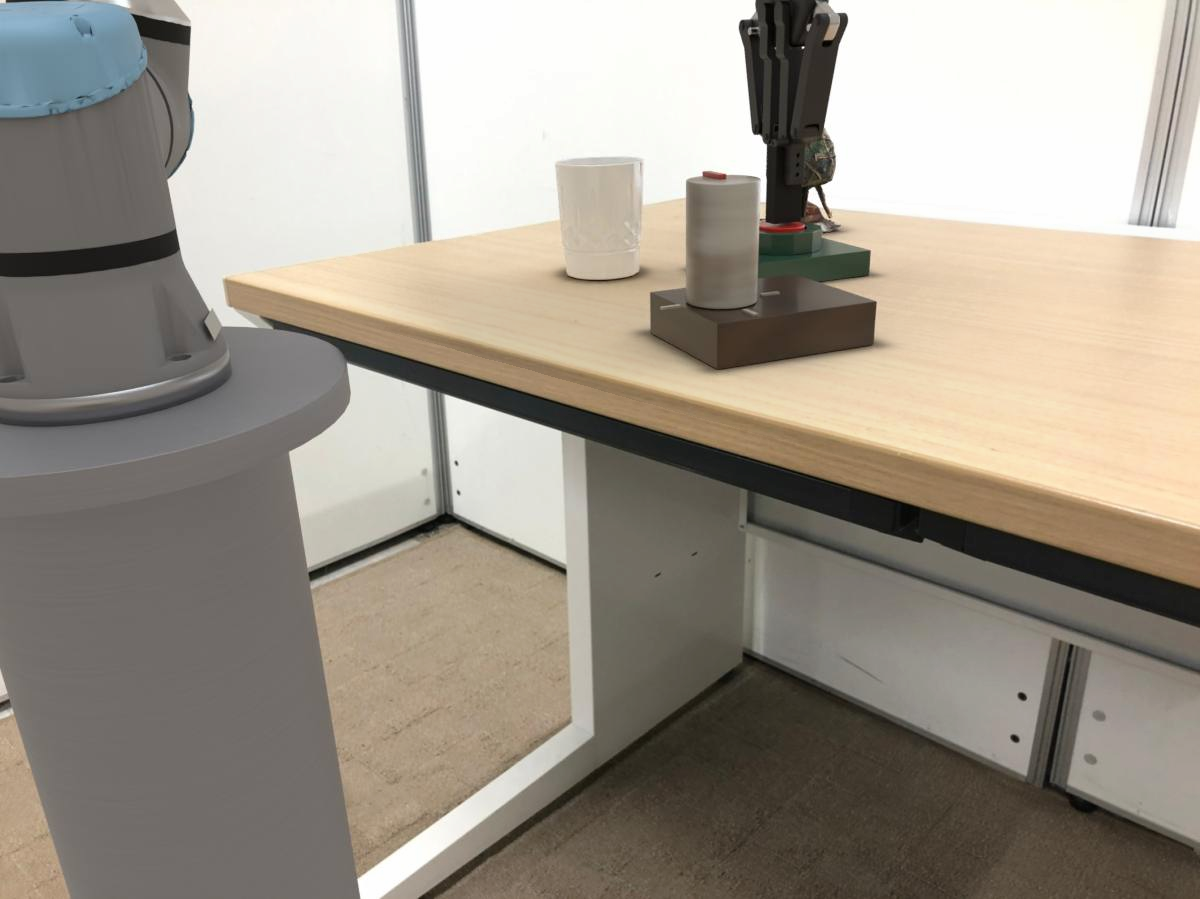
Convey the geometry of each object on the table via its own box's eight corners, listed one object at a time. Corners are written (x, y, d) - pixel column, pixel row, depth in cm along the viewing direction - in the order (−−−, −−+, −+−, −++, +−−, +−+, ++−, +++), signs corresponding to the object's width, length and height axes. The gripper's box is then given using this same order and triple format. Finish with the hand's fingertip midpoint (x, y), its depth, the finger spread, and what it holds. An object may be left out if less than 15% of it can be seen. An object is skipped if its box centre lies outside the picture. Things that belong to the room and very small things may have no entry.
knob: (770, 303, 65) (775, 175, 62) (706, 312, 64) (708, 180, 61) (734, 289, 70) (737, 168, 66) (673, 297, 68) (673, 173, 65)
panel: (696, 373, 62) (696, 324, 61) (631, 335, 71) (630, 292, 69) (873, 344, 67) (877, 298, 65) (792, 312, 75) (794, 271, 74)
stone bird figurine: (778, 240, 104) (786, 33, 96) (753, 223, 114) (758, 35, 106) (854, 236, 104) (867, 31, 97) (821, 219, 115) (831, 33, 107)
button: (773, 250, 85) (774, 229, 85) (750, 243, 89) (750, 223, 88) (812, 245, 87) (813, 225, 86) (788, 239, 90) (788, 219, 90)
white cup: (628, 261, 95) (626, 154, 92) (657, 276, 88) (656, 161, 85) (550, 268, 93) (544, 159, 90) (573, 285, 86) (568, 167, 83)
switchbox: (750, 290, 82) (751, 242, 81) (694, 269, 91) (695, 225, 90) (869, 275, 87) (872, 229, 85) (805, 256, 95) (807, 214, 94)
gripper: (884, -90, 74) (863, 228, 83) (789, -69, 85) (779, 208, 94) (798, -91, 71) (786, 236, 80) (712, -70, 83) (710, 216, 91)
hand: (782, 221), depth 87 cm, fingers closed
